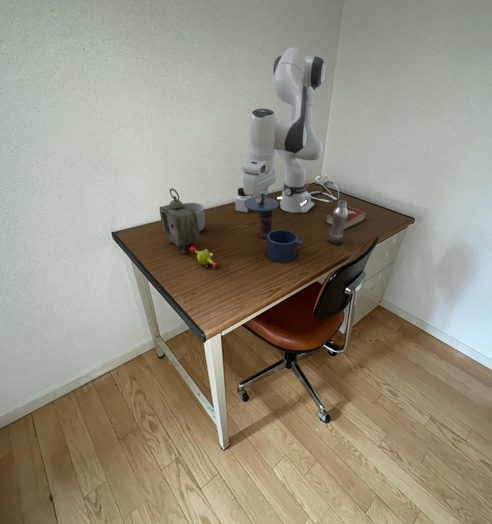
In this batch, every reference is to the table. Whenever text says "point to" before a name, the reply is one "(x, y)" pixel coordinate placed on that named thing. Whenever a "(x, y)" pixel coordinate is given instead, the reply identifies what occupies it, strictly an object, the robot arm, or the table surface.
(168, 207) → the tabletop clock
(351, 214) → the hardcover book
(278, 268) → the table surface
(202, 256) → the toy figure
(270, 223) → the deodorant
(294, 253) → the pot
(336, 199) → the earphone
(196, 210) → the planter
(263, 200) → the pot lid
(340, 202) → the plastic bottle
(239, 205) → the medicine bottle
